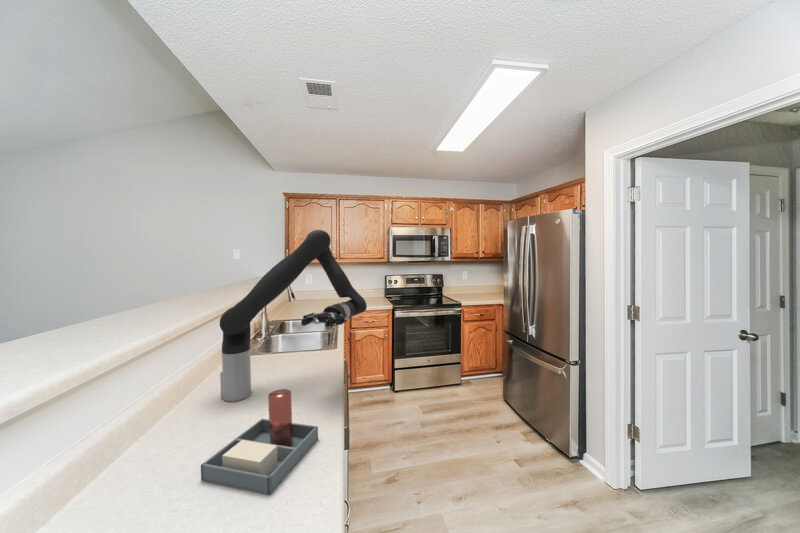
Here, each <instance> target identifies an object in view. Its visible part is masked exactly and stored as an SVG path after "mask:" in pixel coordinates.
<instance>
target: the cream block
mask: <svg viewBox="0 0 800 533" xmlns="http://www.w3.org/2000/svg"><path fill="white" fill-rule="evenodd" d="M222 459H223V467H225V468H230V469H236V470H241V471H246V472H251V473H257V474H262V475H267V476H269V475H270V474H271V473H272V472H273V470H274V469H275V468H276V467H277V466H278V458H277V445H271V444H264V443H258V442H252V441H246V440H241V441H240V442H239V443H238V444H236V445H235V446H234V447H233V448H231V449H230V450H229V451H227V452H226V453H225V454H224V455H222Z"/></svg>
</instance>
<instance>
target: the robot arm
mask: <svg viewBox="0 0 800 533" xmlns="http://www.w3.org/2000/svg"><path fill="white" fill-rule="evenodd" d="M330 246H331V236H330V234H329V233H328V232H327V231H325V230H322V229H313V230H312V231H310V232H309V233H308V234H307V235H306V238H305V239H304V240H303V242H302V243H301V244H299V245H298V247H297V248H296V249H295V250H294V251H293V252H292V253H290V254H288V255H287V256H286V257H284V258H282V259H281V260H280V261H279V262H278V263H277V264H275V265H274V266H272V267H271V268H270V270H268V271H267V272H266V273H265V274H264V275H263V276H262V277H261V278H260V280H258V282H256V284H255V285H254V287H253V288H252V289H251V290H250V292H248V294H246V296H244V297H243V298H242V299H241V300H240V301H239V302H237V303H236V304H234V306H233V307H232V306H231V307H229V308H228V309H227V310H225V312H223V313H222V315H221V316H220V319H219V328H220V330H221V331H222V343H221V361H222V362H221V363H222V371H221V372H220V374H219V376H220V378H219V380H220V398H221V400H223V401H225V402H231V403H233V402H239V401H242V400H245V399H247V398H249V397H250V396H251V395H252V369H251V367H252V366H251V365H252V364H251V362H252V361H251V323H252V321H253V319H254V318H256V316H257V315H258V314H259V313H260V312H261V311H262V310H263V309H264V308H265V307H267V306H268V305H269V304H271V302H273V301H274V300H275V299H276V298H277V297H279V296H280V295H281V294H283V292H285V290H286V289H287V288H288V287H289V286H291V284H292V283H294V281H296V279H298V277H299V276H300V275H301V274H302V272H303V271H304V270H305V269H306V267H307V266H309V265H310V264H311V263H312V262H313V261H314V260H315V259H316V260H317V261H318V262H319V264H320V265H321V267H322V269H323V271H324V273H325V274H326V276H327V277H328V280H329V282H330V284H331V286H332V287H333V289H334V292H336V294H337V296H338V297H339V298H340V299H342V298H343V299H344V298H348V299H349V300H346V301H342V302H338V303H335V304H332V305H329V306H326V307H325V308H324V309H323V311H322V312H319V313H315V312H312V313H308V314H305V315H302V319H301V324H300V325H301V326H308V325H310V324H311V325H312V324H313V325H320V324H322V325H323V324H325V327H326V328H329V327H337V326H338V325H339V326H341V325H344V324H345V323H347V321H348V320H349V319H350V318H352V317H355V316H357V315H359V314H363V313H364V312H365V311H366V310H367V308H368V306H367V302H366V300H365V299H364V297H363V296H362V295H361V294H360V293H359V292H358V291H356V289H355V288H354V287H353V285H352V284H351V282H350V280H349V278H348V275H346V273H345V271H344V270H343V268H342V267H341V266H340V265H339V263H338V262H337V259H335V257H334V255H333V252H332V251H331V248H330Z"/></svg>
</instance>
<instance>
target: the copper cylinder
mask: <svg viewBox="0 0 800 533" xmlns="http://www.w3.org/2000/svg"><path fill="white" fill-rule="evenodd" d="M267 397H268V398H267V399H268V400H267V401H268V420H269V429H270V444H275V445H281V446H287V447H291V446H292V444H293V435H292V423H293V415H292V414H293V411H292V410H293V409H292V391H291V390H290V389H287V388H281V389H276V390H273V391H271V392H270V393H269V394H268V396H267Z"/></svg>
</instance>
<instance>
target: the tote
mask: <svg viewBox="0 0 800 533" xmlns="http://www.w3.org/2000/svg"><path fill="white" fill-rule="evenodd" d="M292 435H293V444H292V446H291V447H287V446H281V445H277V458H278V466H277V467H276V468H275V469H274V470H273V472H272V473H271V474H270V475H269V476H267V475H262V474H257V473H251V472H246V471H241V470H236V469H230V468H225V467H223V459H222V455H224V454H225V453H226V452H227V451H229V450H230V449H231V448H233V447H234V446H235V445H236V444H238V443H239V442H240V441H241V440H246V441H252V442H258V443H264V444H270V429H269V418H268V419H267V418H261V419H259V420H258V421H256V422H255V423H254V424H253V425H252V426H249V428H247V429H246V430H244V432H242V433H241V434H240V435H238V436H237V437H236V438H234V439H233V440H232V441H230V442H229V443H227V444H226V445H225V446H224V447H223V448H221V449H220V450H218V451H217V452H216V453H215V454H213V455H212V456H210V457H209V458H208V459H207V460H205V461H204V462H203V463H201V464H200V480H201V481H202V482H207V483H212V484H216V485H221V486H226V487H232V488H235V489H241V490H244V491H245V490H246V491H250V492H254V493H260V494H265V495H269V496H270V495H272V493H274V491H275V490H276V488H277V487H278V486H279V485H280V484H281V483H282V481H283V480H284V479H285V478H286V477H287V476H288V475H289V473H290V472H291V471H292V470H293V468H295V467H296V465H297V464H298V463H299V462H300V461H301V459H302V458H304V456H305V455H306V454H307V452H309V450H310V449H311V448H312V447H313V446H314V445H315V443H316V442H317V441H318V440H319V427H318V425H317V426H316V425H309V424H303V423H302V424H301V423H295V422H292ZM271 445H275V444H271Z"/></svg>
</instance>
